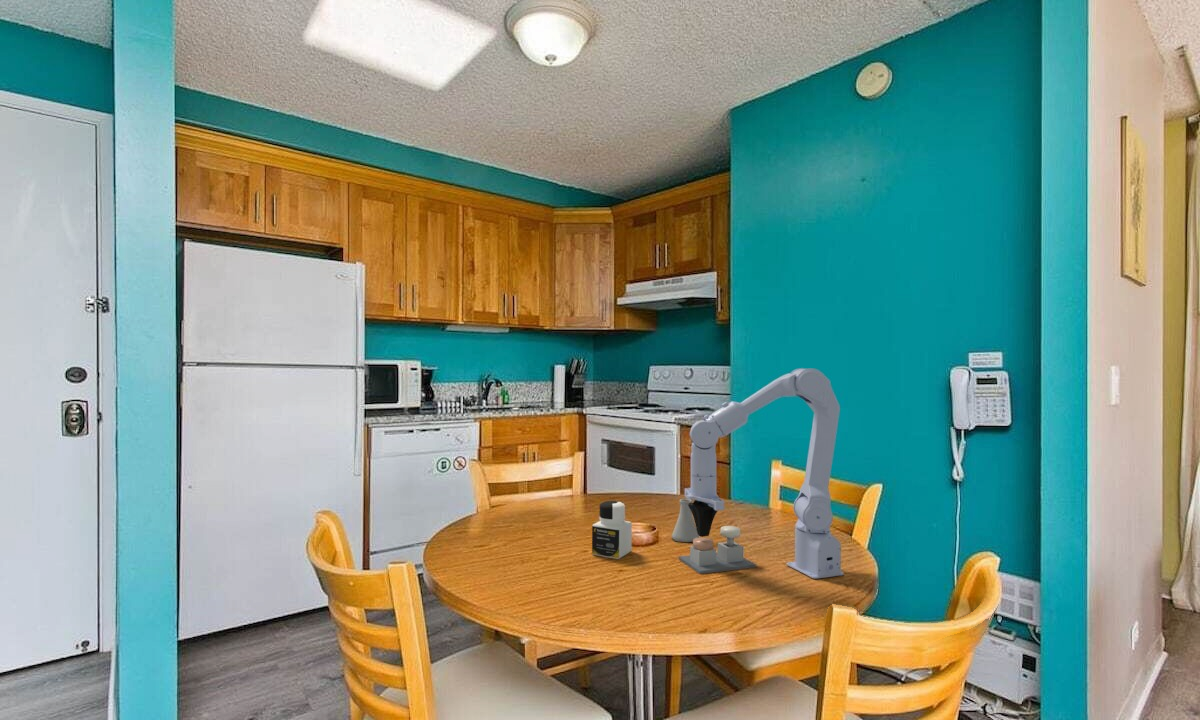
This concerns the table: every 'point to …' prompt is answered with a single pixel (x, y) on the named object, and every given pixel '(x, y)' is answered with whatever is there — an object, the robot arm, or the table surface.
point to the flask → (685, 524)
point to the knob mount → (717, 559)
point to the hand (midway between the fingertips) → (703, 535)
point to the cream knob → (730, 534)
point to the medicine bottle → (611, 531)
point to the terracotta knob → (703, 543)
